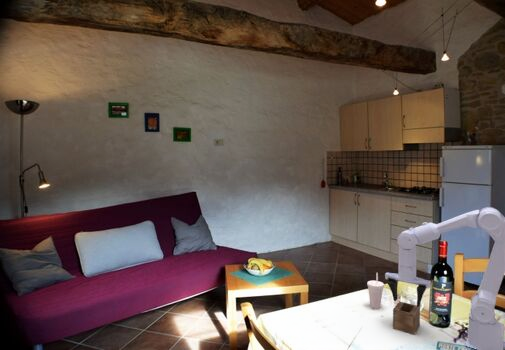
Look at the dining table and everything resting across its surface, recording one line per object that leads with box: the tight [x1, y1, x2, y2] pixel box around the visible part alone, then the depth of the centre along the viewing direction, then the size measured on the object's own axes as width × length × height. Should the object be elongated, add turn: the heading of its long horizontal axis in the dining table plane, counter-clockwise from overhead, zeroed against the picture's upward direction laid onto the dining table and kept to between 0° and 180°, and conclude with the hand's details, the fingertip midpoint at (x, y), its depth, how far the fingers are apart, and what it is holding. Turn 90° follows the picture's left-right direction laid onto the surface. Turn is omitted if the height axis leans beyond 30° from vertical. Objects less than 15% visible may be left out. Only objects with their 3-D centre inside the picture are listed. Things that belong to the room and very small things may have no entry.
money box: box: [392, 301, 421, 335], centre depth 119 cm, size 7×8×7 cm
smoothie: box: [366, 272, 385, 310], centre depth 135 cm, size 6×6×14 cm
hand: (406, 302), depth 119 cm, fingers open, 7 cm apart
